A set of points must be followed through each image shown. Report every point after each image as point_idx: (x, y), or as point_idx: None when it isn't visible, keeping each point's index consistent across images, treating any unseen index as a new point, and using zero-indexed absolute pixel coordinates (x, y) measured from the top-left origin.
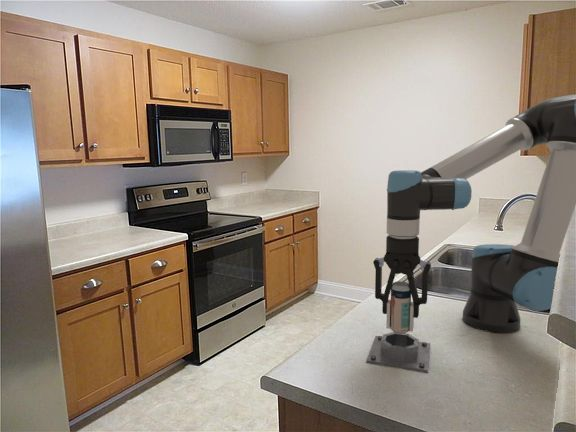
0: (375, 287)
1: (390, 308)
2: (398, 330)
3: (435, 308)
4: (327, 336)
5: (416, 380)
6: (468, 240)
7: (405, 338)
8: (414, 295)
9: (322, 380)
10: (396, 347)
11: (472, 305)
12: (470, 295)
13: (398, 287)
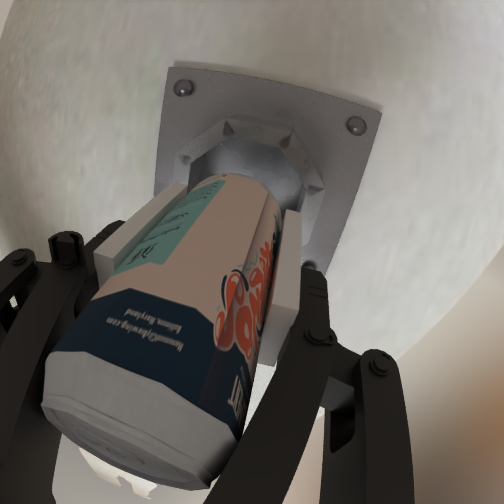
0: (407, 445)
1: (270, 292)
2: (241, 179)
3: None
4: (457, 284)
5: (214, 16)
6: (145, 482)
7: None
8: (39, 310)
9: (497, 32)
10: (264, 129)
11: None
12: None
13: (127, 421)
